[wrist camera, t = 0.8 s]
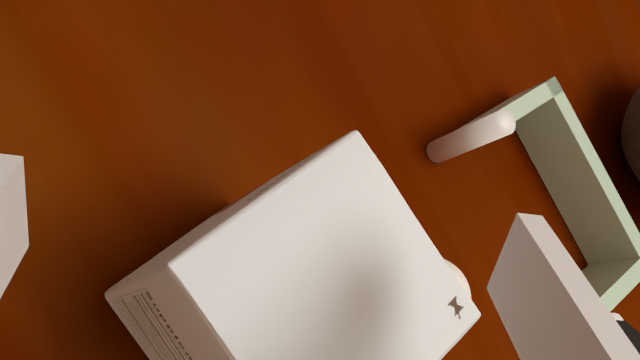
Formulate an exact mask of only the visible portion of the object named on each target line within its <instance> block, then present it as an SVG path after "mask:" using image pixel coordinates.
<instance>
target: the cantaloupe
mask: <svg viewBox="0 0 640 360" xmlns="http://www.w3.org/2000/svg"><path fill="white" fill-rule="evenodd" d="M621 144H622V148H623V152H624V155H625V157H626V160H627V162H628V164H629V166H630V168H631V169H632V171H633V172H634V174H635V176H636V177H637V178H638V180H639V181H640V87H639V88H638V89H637V91H636V92H635V93H634V95H633V96H632V98H631V100H630V102H629V104H628V107H627V110H626V112H625V115H624V118H623V123H622V128H621Z"/></svg>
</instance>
